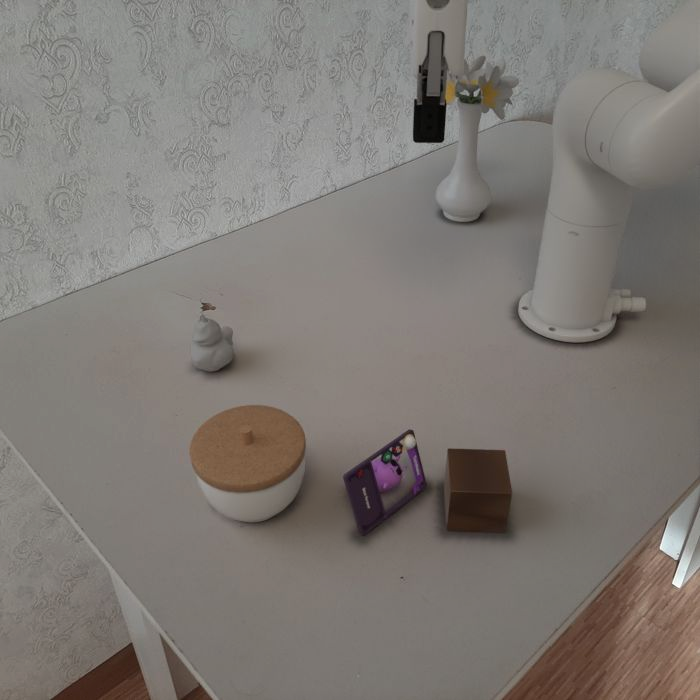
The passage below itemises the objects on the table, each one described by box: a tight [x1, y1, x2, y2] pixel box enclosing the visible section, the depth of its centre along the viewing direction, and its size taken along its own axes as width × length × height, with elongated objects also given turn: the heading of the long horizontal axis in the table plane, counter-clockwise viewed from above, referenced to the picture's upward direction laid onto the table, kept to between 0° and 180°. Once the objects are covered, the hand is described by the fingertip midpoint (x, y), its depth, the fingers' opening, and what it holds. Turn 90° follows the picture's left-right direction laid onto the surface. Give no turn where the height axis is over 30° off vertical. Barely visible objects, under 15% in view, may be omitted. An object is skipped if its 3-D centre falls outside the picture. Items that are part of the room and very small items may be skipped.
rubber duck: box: [189, 313, 234, 372], centre depth 86 cm, size 5×7×8 cm
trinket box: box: [189, 404, 307, 524], centre depth 68 cm, size 11×11×9 cm
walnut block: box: [443, 447, 513, 534], centre depth 68 cm, size 6×6×6 cm
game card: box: [342, 428, 428, 537], centre depth 70 cm, size 7×5×9 cm
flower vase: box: [434, 55, 520, 223], centre depth 114 cm, size 13×18×25 cm
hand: (428, 139), depth 74 cm, fingers closed
